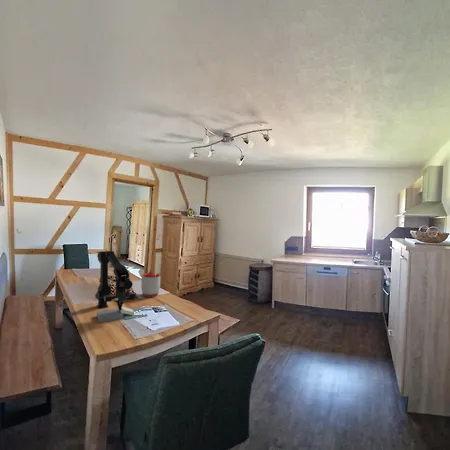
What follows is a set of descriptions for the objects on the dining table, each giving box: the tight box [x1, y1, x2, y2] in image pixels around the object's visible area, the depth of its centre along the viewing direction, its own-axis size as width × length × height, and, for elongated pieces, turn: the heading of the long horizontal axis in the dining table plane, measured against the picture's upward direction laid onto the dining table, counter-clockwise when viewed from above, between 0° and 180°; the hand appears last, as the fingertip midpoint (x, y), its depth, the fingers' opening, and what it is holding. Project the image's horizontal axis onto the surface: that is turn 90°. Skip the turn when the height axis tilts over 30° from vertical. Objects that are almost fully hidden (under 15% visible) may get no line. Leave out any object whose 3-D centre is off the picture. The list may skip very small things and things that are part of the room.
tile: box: [120, 306, 134, 315], centre depth 182 cm, size 7×8×2 cm
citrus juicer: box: [140, 271, 162, 298], centre depth 228 cm, size 16×17×20 cm
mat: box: [123, 307, 148, 320], centre depth 185 cm, size 16×14×1 cm
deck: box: [96, 307, 124, 324], centre depth 177 cm, size 12×14×3 cm
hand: (119, 309), depth 180 cm, fingers closed
